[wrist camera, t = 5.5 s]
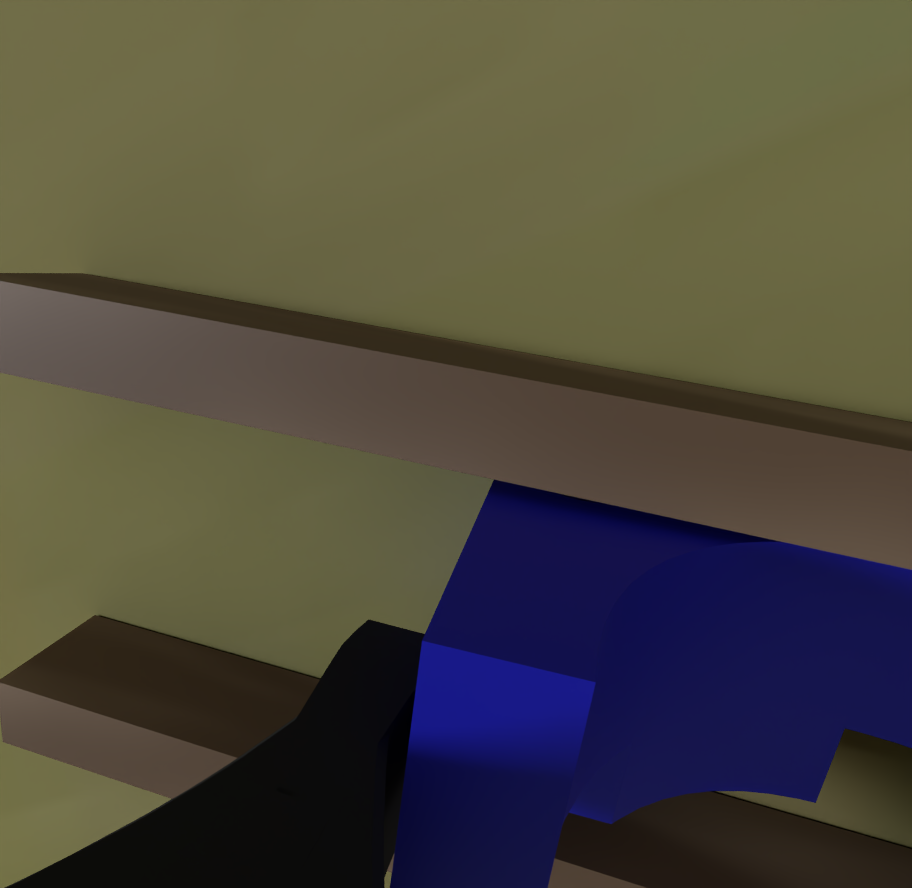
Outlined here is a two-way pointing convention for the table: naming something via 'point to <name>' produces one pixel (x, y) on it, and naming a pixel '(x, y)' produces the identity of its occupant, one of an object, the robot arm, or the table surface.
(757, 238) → the table surface
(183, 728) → the cable track
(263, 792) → the robot arm
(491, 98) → the table surface
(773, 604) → the cable clip
